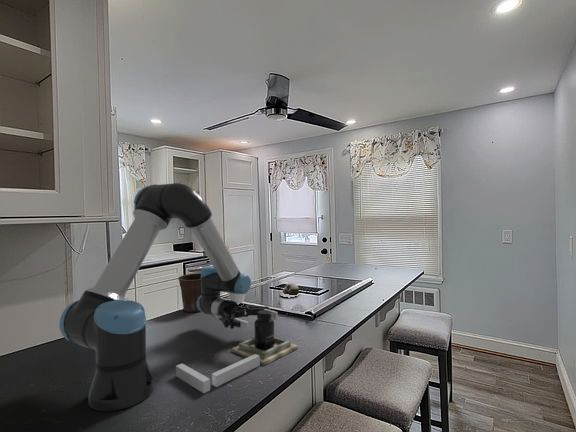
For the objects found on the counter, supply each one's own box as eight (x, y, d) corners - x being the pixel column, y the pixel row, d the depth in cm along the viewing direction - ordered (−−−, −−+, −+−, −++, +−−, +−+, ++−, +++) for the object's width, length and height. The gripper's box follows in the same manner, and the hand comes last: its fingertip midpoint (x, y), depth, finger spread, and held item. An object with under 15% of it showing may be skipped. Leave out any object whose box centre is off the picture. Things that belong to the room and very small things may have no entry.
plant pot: (195, 315, 149) (194, 280, 149) (171, 311, 157) (170, 277, 157) (219, 306, 163) (219, 274, 163) (196, 302, 171) (195, 272, 171)
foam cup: (245, 306, 162) (244, 280, 162) (226, 307, 163) (226, 281, 162) (247, 301, 172) (247, 277, 172) (230, 301, 172) (229, 277, 172)
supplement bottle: (271, 351, 107) (271, 315, 107) (252, 350, 108) (251, 314, 108) (276, 343, 113) (276, 309, 113) (257, 342, 115) (257, 308, 115)
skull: (274, 295, 181) (281, 279, 186) (283, 304, 187) (289, 288, 192) (291, 297, 174) (298, 281, 179) (300, 307, 180) (306, 290, 185)
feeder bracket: (203, 393, 85) (203, 381, 85) (175, 376, 94) (175, 365, 94) (259, 365, 99) (259, 355, 99) (231, 353, 109) (230, 344, 109)
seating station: (264, 365, 100) (264, 357, 100) (231, 351, 110) (231, 343, 110) (297, 348, 112) (297, 341, 111) (265, 337, 122) (265, 330, 122)
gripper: (250, 311, 135) (287, 322, 121) (197, 327, 117) (234, 343, 102) (249, 293, 135) (287, 302, 121) (196, 307, 117) (234, 319, 102)
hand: (263, 321), depth 112 cm, fingers open, 13 cm apart
